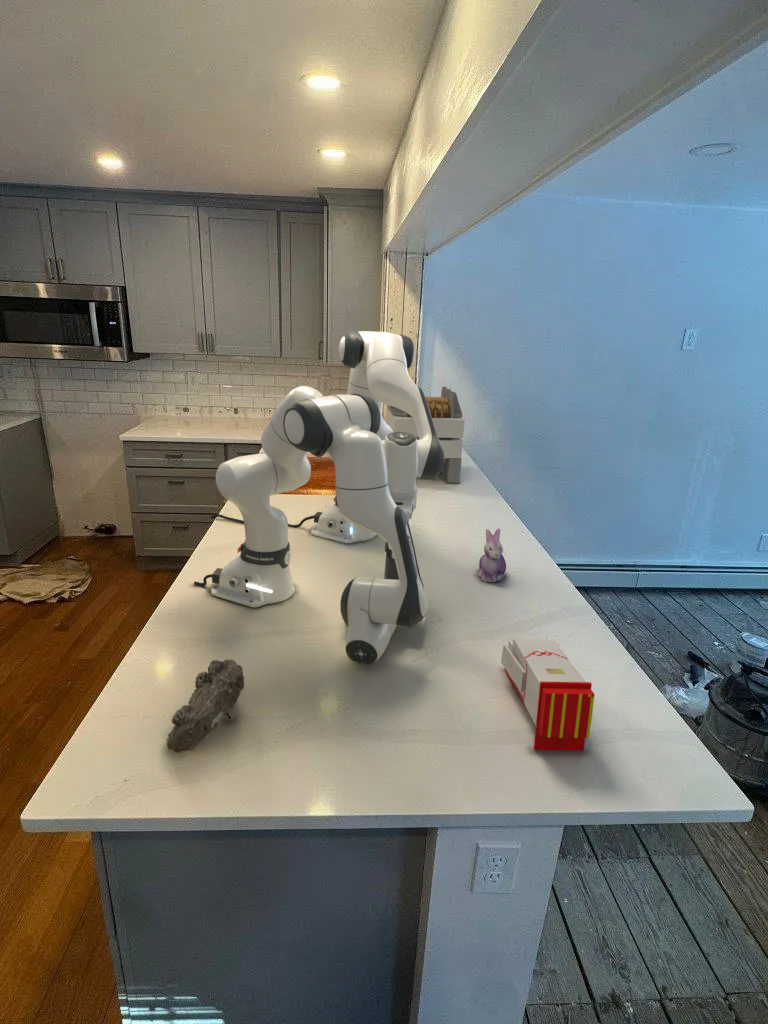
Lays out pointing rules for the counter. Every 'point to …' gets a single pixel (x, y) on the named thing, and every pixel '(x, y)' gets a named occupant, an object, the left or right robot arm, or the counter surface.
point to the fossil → (206, 705)
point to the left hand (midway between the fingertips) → (393, 591)
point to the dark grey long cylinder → (390, 568)
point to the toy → (550, 693)
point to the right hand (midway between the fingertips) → (395, 552)
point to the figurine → (492, 559)
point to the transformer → (437, 429)
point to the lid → (387, 549)
